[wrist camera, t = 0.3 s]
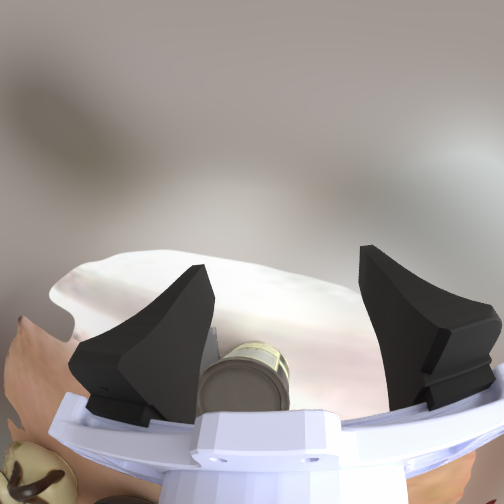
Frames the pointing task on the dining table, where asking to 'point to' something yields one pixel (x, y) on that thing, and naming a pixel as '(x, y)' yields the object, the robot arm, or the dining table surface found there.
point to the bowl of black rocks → (122, 500)
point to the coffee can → (245, 381)
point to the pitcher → (36, 476)
